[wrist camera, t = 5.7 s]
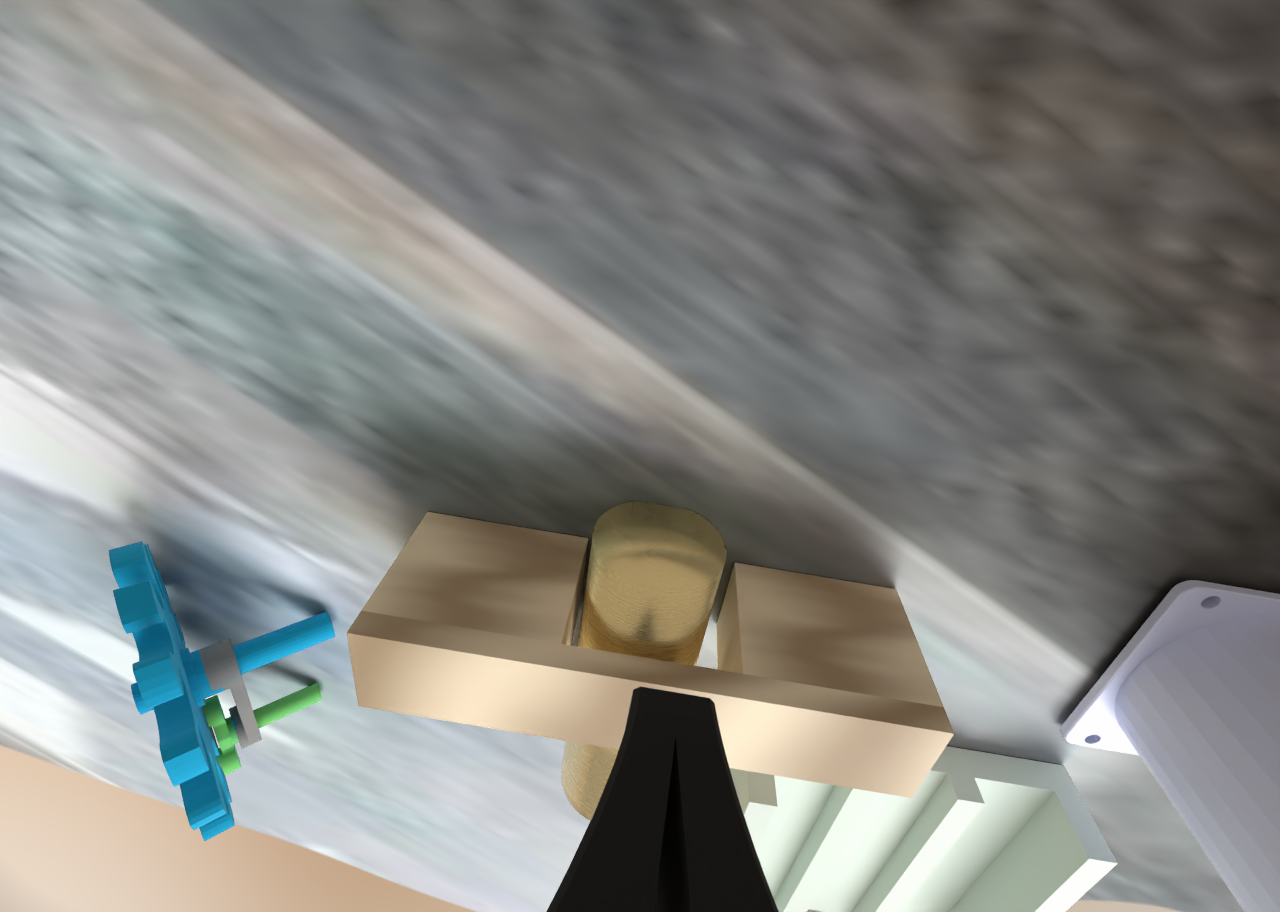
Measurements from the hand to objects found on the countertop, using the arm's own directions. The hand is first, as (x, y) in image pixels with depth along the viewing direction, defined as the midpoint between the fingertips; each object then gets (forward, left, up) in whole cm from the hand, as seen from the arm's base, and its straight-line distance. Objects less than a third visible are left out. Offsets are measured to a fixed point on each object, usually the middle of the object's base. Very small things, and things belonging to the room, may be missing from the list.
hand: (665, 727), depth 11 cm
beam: (0, +5, -9) cm, 10 cm away
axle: (0, +8, -7) cm, 11 cm away
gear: (+16, +10, -9) cm, 21 cm away
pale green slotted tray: (-11, +17, -9) cm, 22 cm away
